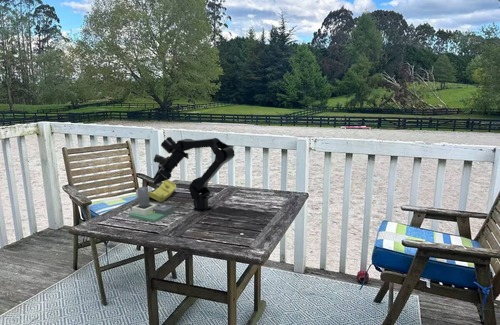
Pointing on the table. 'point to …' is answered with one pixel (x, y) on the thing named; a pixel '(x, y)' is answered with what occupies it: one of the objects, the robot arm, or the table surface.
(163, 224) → the table surface
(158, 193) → the plastic component
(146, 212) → the header board
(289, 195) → the table surface
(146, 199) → the plug
